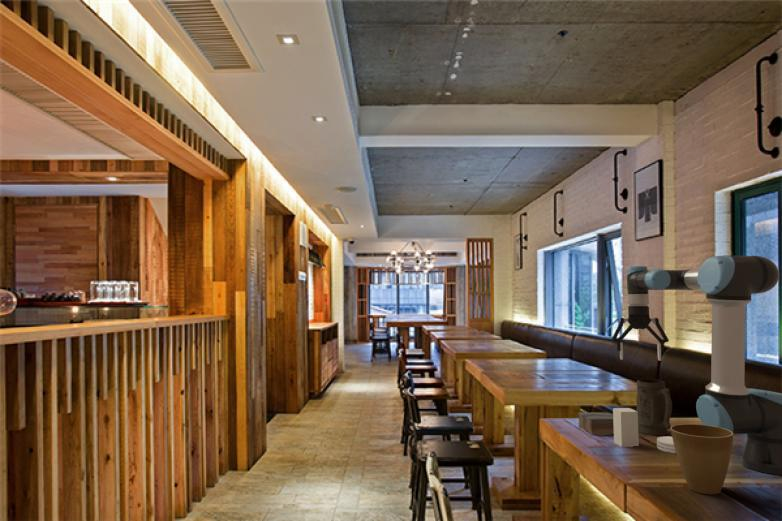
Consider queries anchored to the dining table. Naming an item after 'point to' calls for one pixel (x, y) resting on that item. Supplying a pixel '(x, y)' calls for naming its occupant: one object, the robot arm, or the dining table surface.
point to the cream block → (625, 427)
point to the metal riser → (597, 423)
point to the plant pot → (703, 455)
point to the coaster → (666, 444)
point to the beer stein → (653, 407)
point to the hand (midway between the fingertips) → (640, 360)
